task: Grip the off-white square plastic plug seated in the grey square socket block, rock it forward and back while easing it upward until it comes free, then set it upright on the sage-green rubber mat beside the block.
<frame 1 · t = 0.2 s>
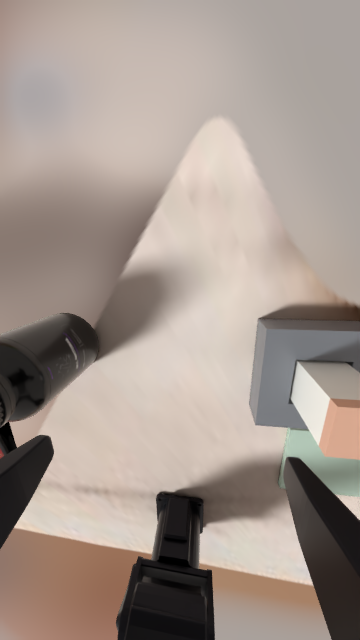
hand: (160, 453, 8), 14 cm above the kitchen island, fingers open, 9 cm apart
grey square socket block: (304, 366, 21), on the kitchen island
supplement bottle: (73, 339, 24), on the kitchen island
mat: (323, 459, 24), on the kitchen island
plug: (306, 369, 21), resting on grey square socket block
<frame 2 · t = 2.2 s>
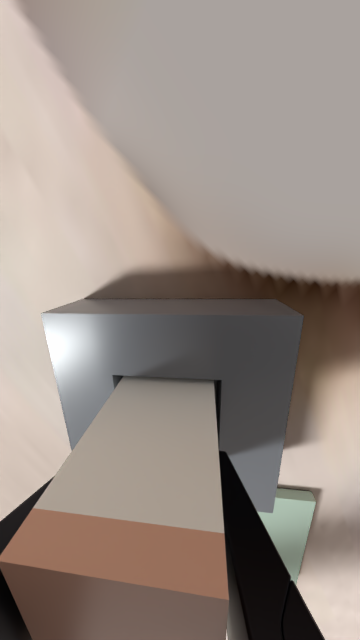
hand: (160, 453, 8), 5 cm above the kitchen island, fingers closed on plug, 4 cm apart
grey square socket block: (176, 383, 12), on the kitchen island
mat: (235, 528, 15), on the kitchen island
plug: (175, 388, 12), resting on grey square socket block, touching gripper
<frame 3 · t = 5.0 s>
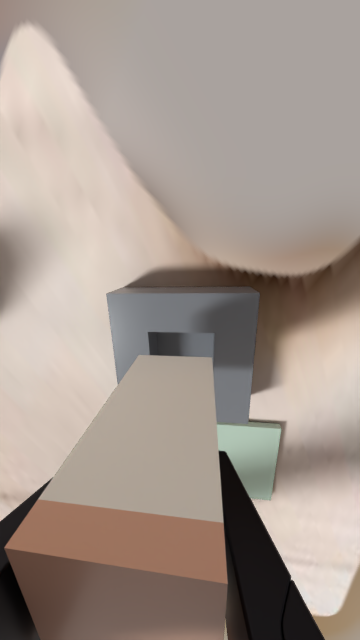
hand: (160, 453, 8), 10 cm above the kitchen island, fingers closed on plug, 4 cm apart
grey square socket block: (185, 345, 18), on the kitchen island
mat: (226, 456, 21), on the kitchen island
plug: (175, 388, 12), point 6 cm above the kitchen island, touching gripper
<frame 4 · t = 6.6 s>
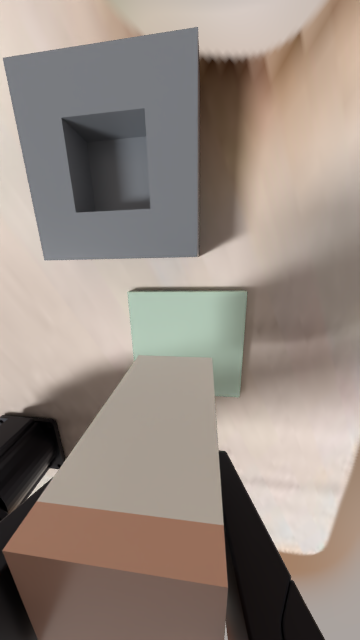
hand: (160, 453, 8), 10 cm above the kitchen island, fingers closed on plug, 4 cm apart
grey square socket block: (127, 182, 14), on the kitchen island
mat: (186, 344, 17), on the kitchen island
plug: (175, 388, 12), point 6 cm above the kitchen island, touching gripper
when the fingers open (6 cm above the kitchen island, at t = 8.0 s): plug drops 1 cm, resting on mat.
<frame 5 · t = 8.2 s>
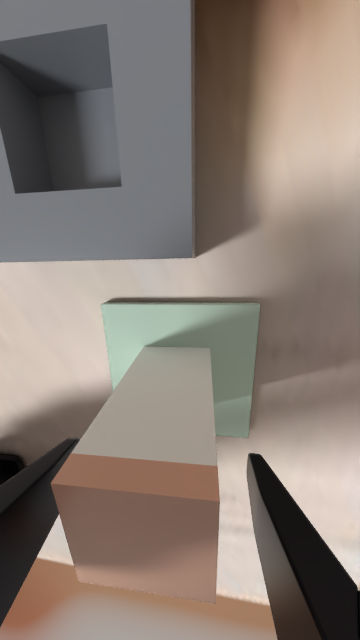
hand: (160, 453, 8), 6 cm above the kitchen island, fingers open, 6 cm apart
grey square socket block: (96, 156, 10), on the kitchen island
mat: (180, 370, 13), on the kitchen island
plug: (177, 376, 13), point 1 cm above the kitchen island, touching mat
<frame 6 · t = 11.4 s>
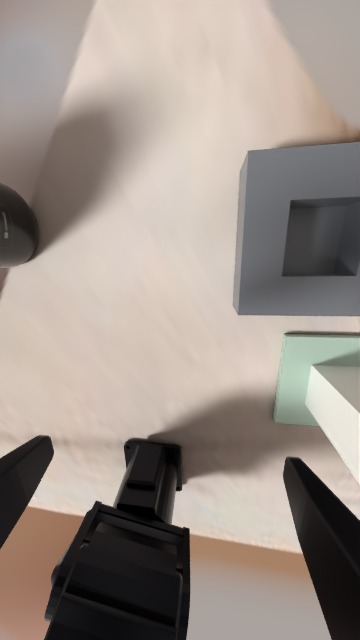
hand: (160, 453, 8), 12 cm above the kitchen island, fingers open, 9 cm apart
grey square socket block: (303, 242, 16), on the kitchen island
supplement bottle: (7, 227, 18), on the kitchen island
mat: (329, 381, 19), on the kitchen island
plug: (332, 386, 18), point 1 cm above the kitchen island, touching mat
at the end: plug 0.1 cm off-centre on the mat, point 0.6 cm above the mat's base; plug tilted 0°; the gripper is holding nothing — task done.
